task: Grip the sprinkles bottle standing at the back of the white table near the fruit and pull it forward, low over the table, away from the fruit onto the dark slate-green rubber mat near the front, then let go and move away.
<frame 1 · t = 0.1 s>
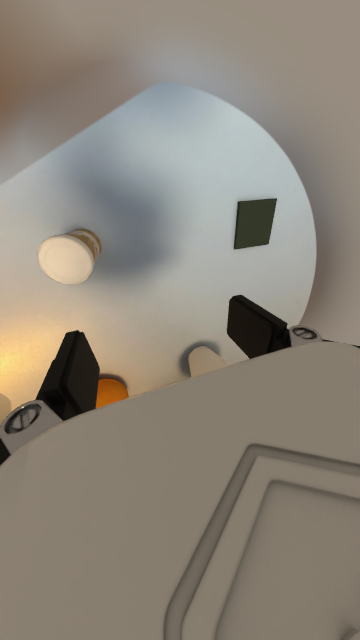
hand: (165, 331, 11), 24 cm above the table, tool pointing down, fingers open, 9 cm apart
mat: (253, 224, 34), on the table
sprinkles bottle: (85, 244, 28), on the table
cup: (199, 355, 48), on the table
fruit: (103, 388, 44), on the table
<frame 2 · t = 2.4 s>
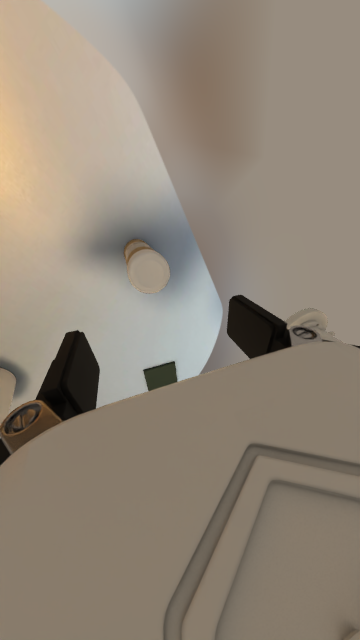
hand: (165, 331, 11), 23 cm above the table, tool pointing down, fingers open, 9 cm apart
mat: (161, 376, 46), on the table
sprinkles bottle: (137, 253, 30), on the table
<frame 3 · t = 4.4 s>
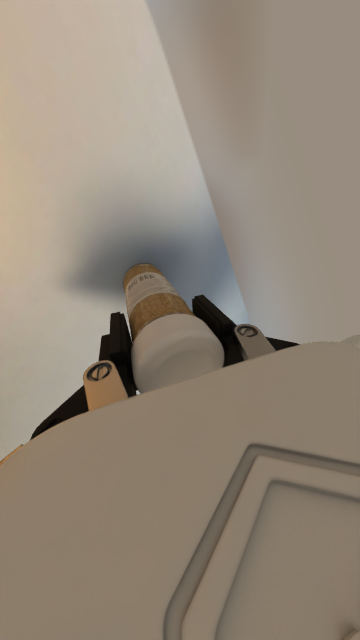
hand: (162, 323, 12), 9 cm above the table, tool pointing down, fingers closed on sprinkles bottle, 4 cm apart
sprinkles bottle: (144, 282, 19), on the table, touching gripper
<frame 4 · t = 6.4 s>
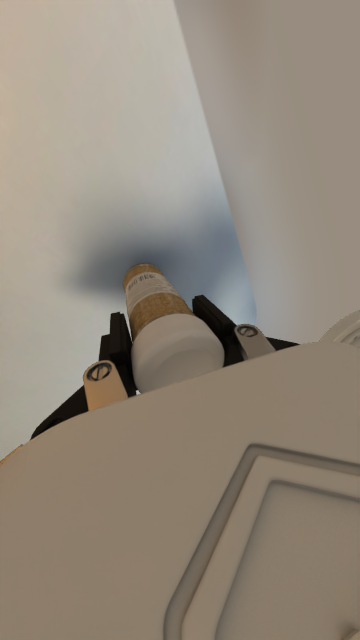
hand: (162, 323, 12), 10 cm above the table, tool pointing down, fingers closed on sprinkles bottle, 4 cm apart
sprinkles bottle: (144, 282, 19), point 1 cm above the table, touching gripper
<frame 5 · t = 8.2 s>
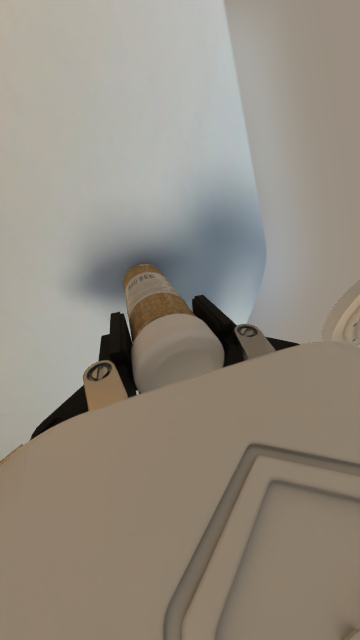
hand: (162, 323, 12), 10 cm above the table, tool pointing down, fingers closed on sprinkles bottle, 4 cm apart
sprinkles bottle: (144, 282, 19), point 1 cm above the table, touching gripper
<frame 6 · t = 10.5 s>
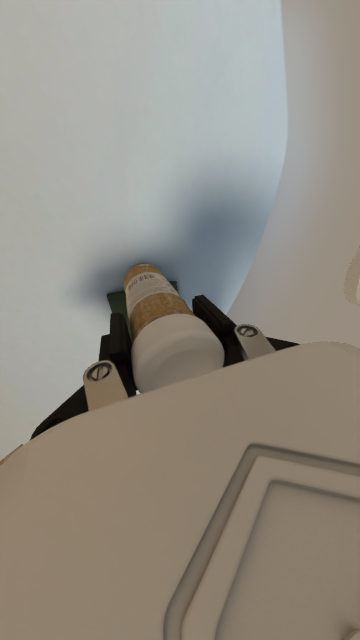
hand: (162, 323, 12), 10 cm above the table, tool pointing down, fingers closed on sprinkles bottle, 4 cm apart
mat: (148, 316, 22), on the table
sprinkles bottle: (144, 282, 19), point 1 cm above the table, touching gripper
when the fingers open (9 cm above the table, at t = 12.0 s): sprinkles bottle stays where it is, resting on mat.
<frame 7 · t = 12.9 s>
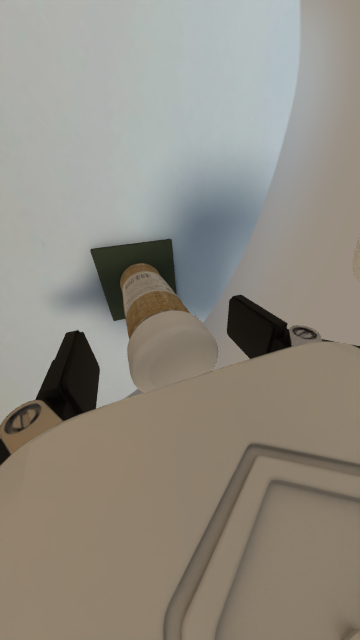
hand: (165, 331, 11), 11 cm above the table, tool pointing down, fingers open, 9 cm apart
mat: (140, 281, 20), on the table
sprinkles bottle: (141, 282, 19), resting on mat
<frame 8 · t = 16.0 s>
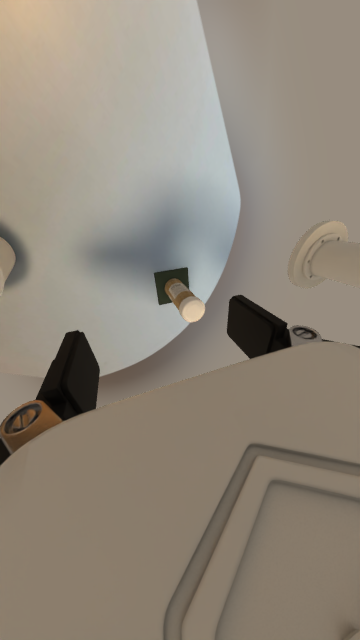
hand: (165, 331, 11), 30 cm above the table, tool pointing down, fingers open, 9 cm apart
mat: (172, 286, 42), on the table
sprinkles bottle: (173, 286, 42), resting on mat
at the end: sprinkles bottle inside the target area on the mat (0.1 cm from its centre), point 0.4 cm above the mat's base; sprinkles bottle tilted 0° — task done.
